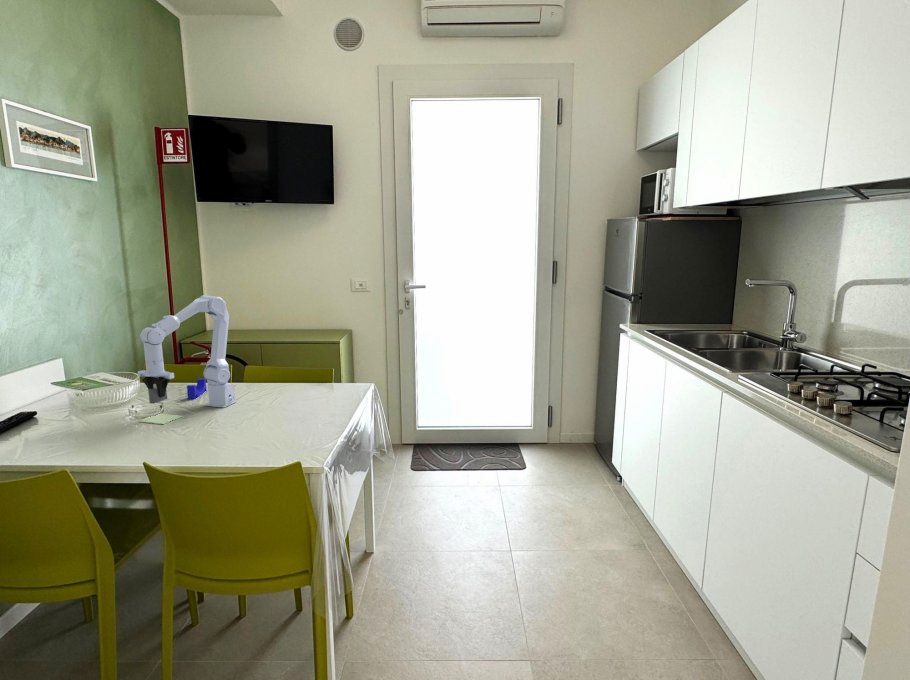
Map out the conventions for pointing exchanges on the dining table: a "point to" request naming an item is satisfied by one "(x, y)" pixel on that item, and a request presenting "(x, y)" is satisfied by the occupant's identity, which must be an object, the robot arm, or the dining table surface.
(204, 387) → the blue u-shaped block
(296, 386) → the dining table surface
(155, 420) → the sage mat
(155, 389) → the dark grey block
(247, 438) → the dining table surface
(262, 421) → the dining table surface
